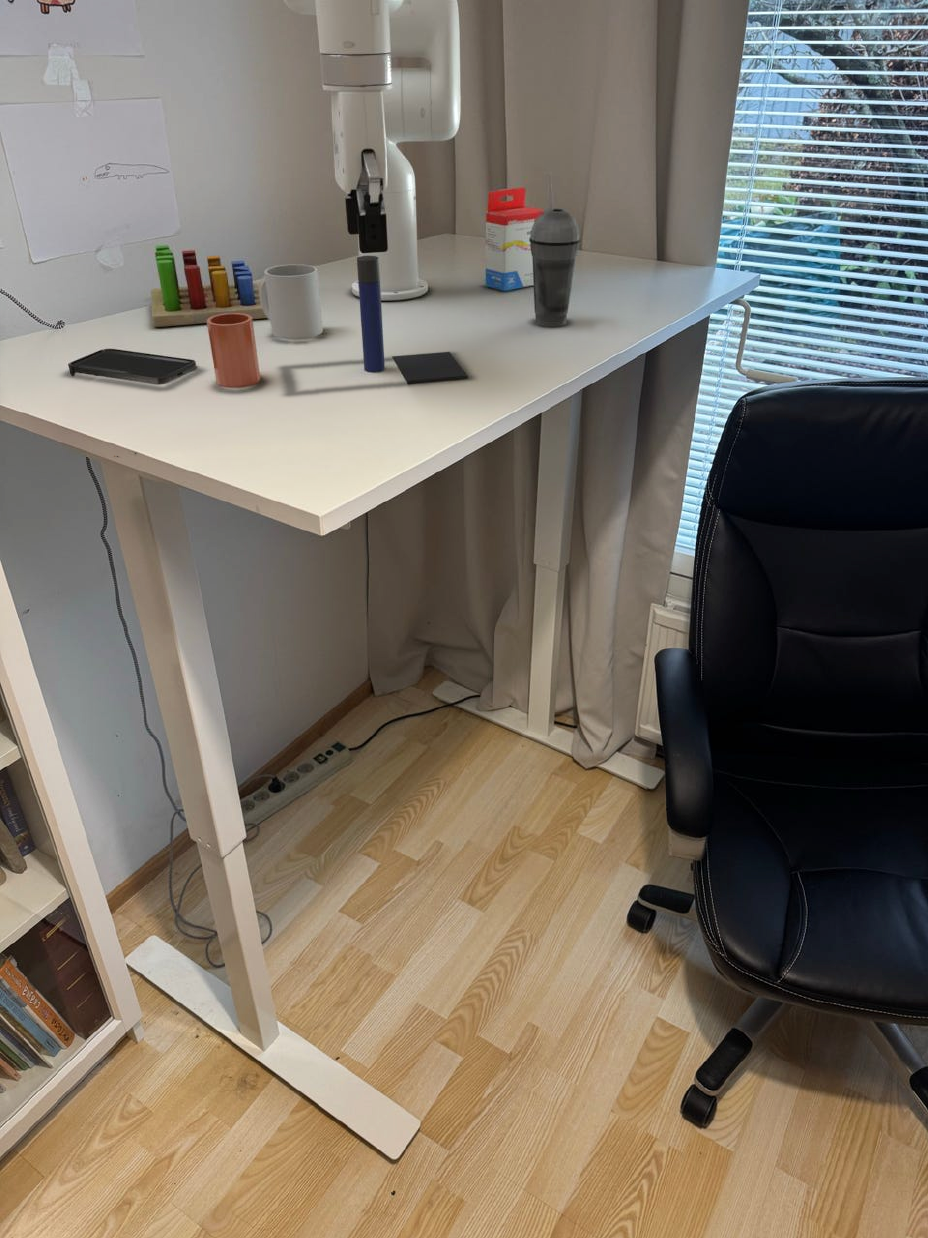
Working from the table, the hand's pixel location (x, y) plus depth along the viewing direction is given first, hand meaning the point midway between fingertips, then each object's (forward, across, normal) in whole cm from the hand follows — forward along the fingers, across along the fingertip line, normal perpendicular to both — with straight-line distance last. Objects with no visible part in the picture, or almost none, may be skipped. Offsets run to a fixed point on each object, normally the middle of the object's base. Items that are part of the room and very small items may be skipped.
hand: (367, 242), depth 106 cm
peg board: (+16, -36, -20) cm, 45 cm away
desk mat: (+16, +1, 0) cm, 16 cm away
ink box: (+17, -38, +30) cm, 51 cm away
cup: (+16, -19, -9) cm, 27 cm away
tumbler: (+16, +1, -17) cm, 23 cm away
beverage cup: (+16, -15, +29) cm, 36 cm away
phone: (+16, -7, -30) cm, 35 cm away
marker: (+15, +1, 0) cm, 15 cm away
